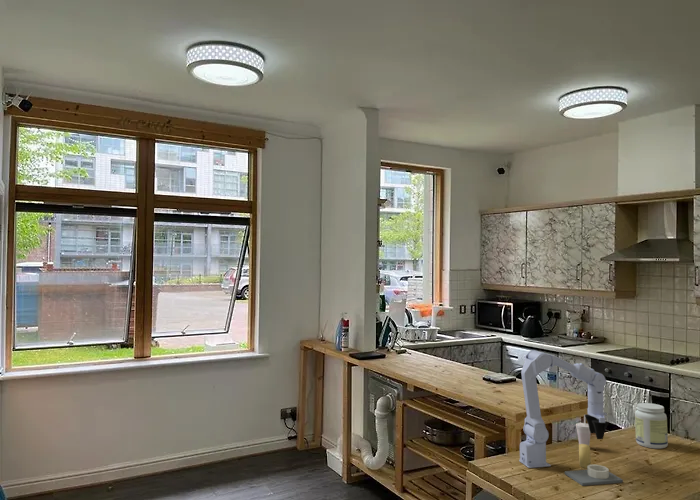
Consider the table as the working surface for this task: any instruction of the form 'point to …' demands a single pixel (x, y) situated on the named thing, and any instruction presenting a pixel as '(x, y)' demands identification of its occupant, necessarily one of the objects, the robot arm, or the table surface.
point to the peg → (584, 455)
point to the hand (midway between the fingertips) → (596, 435)
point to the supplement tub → (651, 426)
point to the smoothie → (583, 432)
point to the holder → (593, 476)
